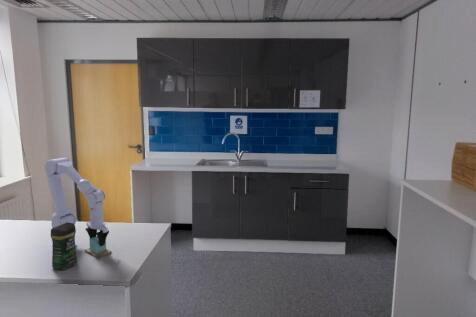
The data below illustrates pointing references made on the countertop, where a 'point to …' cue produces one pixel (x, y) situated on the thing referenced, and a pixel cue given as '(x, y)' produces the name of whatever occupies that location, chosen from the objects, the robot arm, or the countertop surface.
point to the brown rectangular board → (98, 253)
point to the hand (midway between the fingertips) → (97, 243)
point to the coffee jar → (63, 246)
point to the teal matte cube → (96, 245)
